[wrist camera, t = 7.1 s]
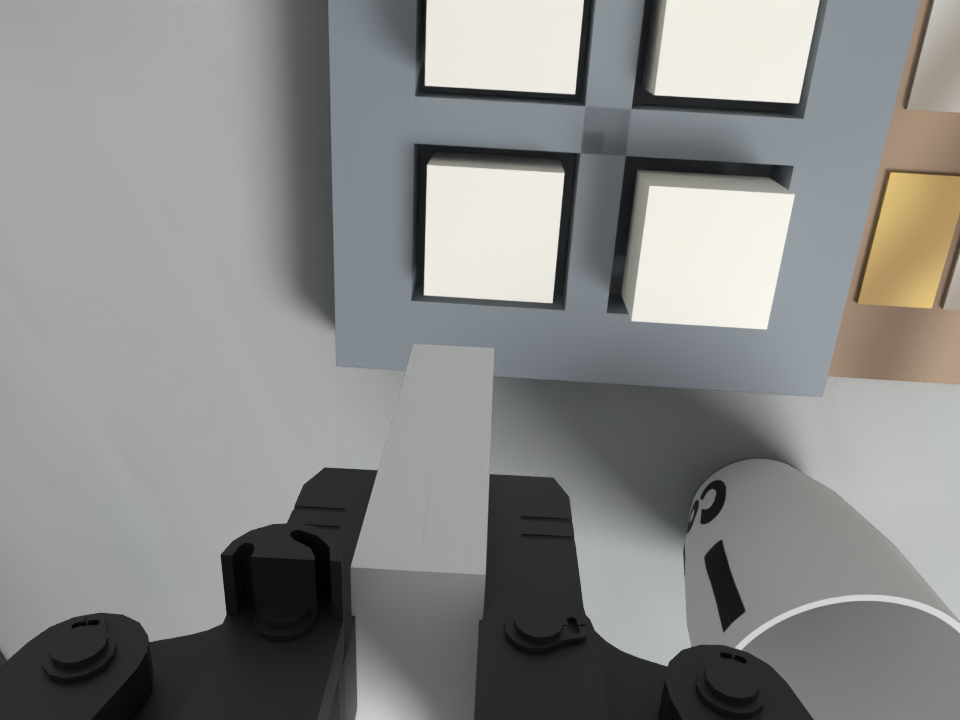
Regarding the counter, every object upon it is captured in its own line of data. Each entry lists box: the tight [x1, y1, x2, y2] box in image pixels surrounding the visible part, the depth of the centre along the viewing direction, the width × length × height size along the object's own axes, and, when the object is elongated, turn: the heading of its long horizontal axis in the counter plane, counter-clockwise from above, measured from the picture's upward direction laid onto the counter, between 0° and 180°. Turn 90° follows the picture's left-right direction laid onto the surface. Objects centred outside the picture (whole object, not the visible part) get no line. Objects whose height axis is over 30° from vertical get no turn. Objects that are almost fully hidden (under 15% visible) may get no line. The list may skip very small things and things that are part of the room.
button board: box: [328, 0, 921, 397], centre depth 26 cm, size 17×17×2 cm
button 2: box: [621, 170, 795, 330], centre depth 25 cm, size 4×4×3 cm
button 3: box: [425, 0, 584, 94], centre depth 23 cm, size 4×4×3 cm
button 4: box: [424, 151, 565, 303], centre depth 27 cm, size 4×4×3 cm
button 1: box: [642, 0, 820, 103], centre depth 24 cm, size 4×4×3 cm
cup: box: [683, 459, 960, 720], centre depth 28 cm, size 8×8×10 cm
